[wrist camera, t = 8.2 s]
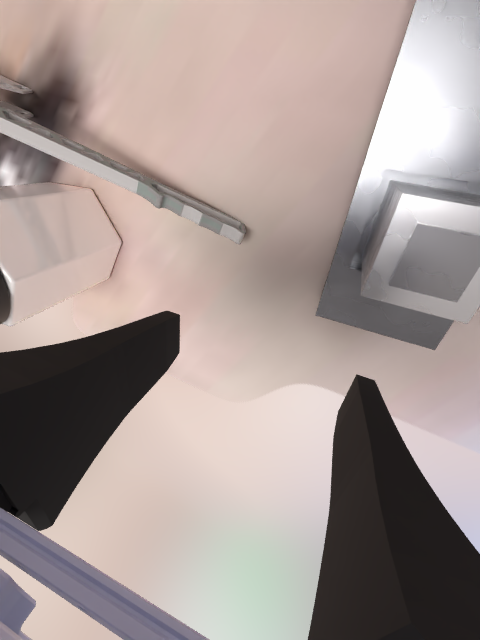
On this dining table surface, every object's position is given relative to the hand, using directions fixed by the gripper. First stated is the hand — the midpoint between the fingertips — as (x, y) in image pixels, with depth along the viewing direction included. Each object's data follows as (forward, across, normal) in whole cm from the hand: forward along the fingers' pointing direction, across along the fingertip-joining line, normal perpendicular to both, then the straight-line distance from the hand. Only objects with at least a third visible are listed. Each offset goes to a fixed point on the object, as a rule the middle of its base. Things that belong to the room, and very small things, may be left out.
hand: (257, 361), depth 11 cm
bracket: (+11, +16, -5) cm, 20 cm away
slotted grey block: (+9, -5, -4) cm, 12 cm away
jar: (+11, +20, +2) cm, 23 cm away
